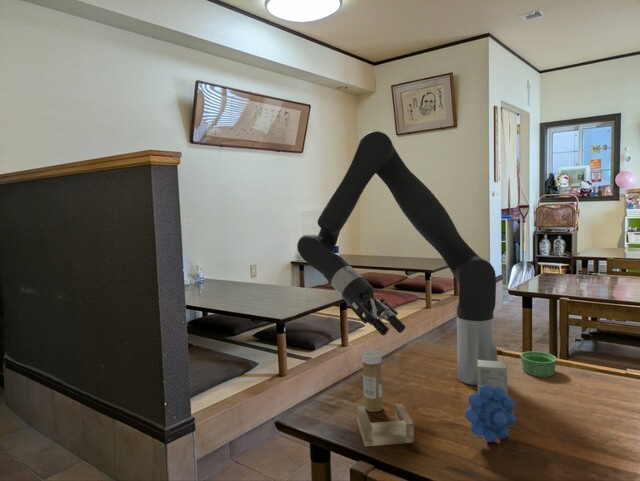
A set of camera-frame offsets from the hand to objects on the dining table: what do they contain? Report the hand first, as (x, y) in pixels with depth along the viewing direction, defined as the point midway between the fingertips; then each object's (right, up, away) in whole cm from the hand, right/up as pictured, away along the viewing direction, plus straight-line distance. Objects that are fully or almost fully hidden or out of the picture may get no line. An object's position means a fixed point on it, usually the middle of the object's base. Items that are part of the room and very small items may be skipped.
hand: (394, 331), depth 107 cm
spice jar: (-5, -18, -2) cm, 19 cm away
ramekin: (+43, -15, +16) cm, 48 cm away
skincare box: (+21, -18, -7) cm, 28 cm away
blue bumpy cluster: (+17, -19, -19) cm, 31 cm away
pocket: (-4, -19, -13) cm, 23 cm away
